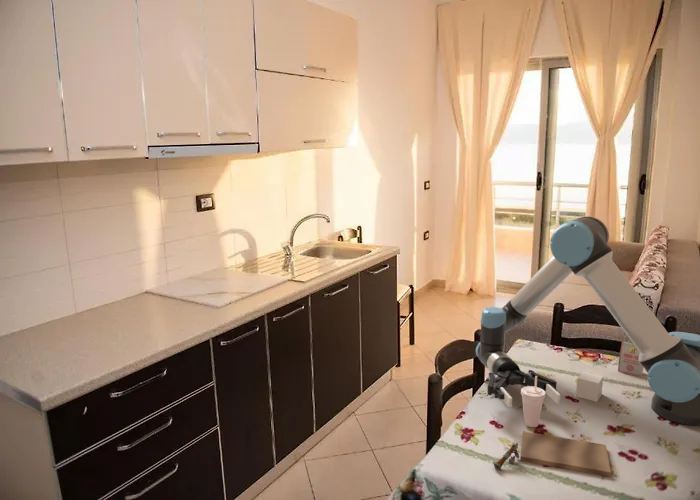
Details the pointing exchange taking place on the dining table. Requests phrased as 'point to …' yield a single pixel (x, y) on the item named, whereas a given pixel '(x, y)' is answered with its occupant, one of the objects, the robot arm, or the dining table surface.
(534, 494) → the dining table surface
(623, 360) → the small printed carton
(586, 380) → the off-white cube
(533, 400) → the smoothie
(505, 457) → the wooden post with brackets
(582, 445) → the walnut board
